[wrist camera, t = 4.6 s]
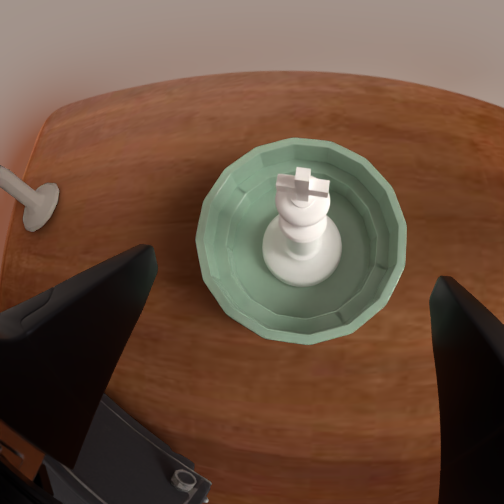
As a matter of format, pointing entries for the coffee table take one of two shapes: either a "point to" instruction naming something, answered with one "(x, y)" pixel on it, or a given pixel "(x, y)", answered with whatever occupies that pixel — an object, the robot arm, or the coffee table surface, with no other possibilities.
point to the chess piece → (302, 231)
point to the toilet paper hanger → (31, 199)
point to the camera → (125, 466)
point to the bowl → (264, 211)
